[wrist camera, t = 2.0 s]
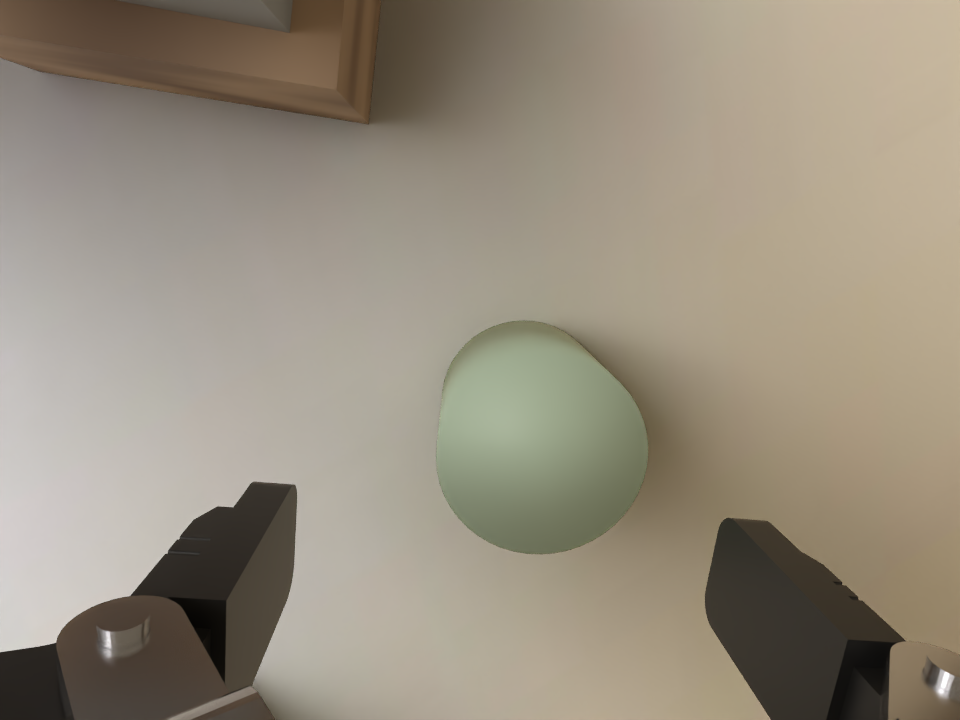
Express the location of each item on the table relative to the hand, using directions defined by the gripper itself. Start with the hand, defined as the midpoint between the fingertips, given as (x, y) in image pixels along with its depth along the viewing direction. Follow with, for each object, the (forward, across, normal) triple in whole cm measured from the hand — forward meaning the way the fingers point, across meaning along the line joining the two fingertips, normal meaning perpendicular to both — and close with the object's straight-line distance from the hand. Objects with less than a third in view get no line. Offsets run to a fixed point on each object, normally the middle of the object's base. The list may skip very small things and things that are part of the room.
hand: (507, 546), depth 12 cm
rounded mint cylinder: (+8, -1, 0) cm, 8 cm away
